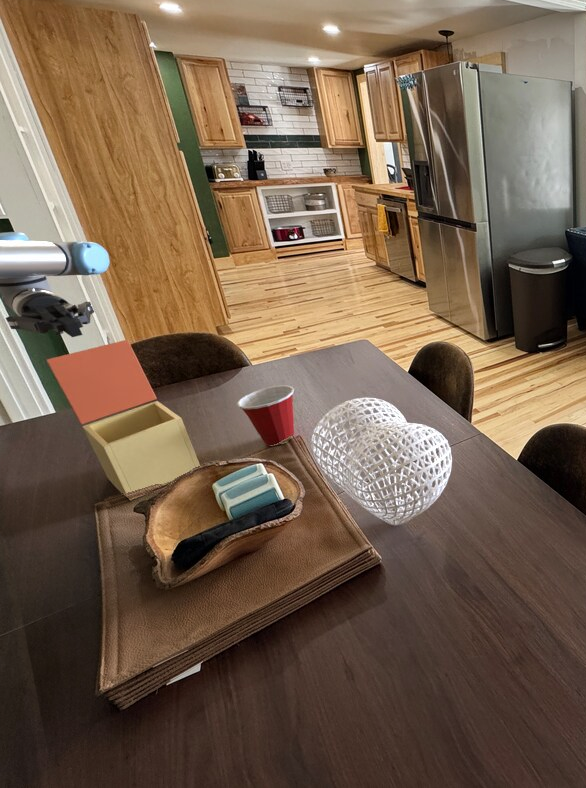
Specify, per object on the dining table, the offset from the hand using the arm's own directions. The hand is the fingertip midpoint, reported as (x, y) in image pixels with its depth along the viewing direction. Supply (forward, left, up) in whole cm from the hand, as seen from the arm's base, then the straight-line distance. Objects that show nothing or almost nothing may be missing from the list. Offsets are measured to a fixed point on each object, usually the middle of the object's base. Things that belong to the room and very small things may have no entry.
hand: (74, 329), depth 95 cm
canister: (+11, -10, -29) cm, 33 cm away
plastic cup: (+31, -1, -29) cm, 43 cm away
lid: (+5, -5, -9) cm, 12 cm away
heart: (+63, -33, -29) cm, 77 cm away
